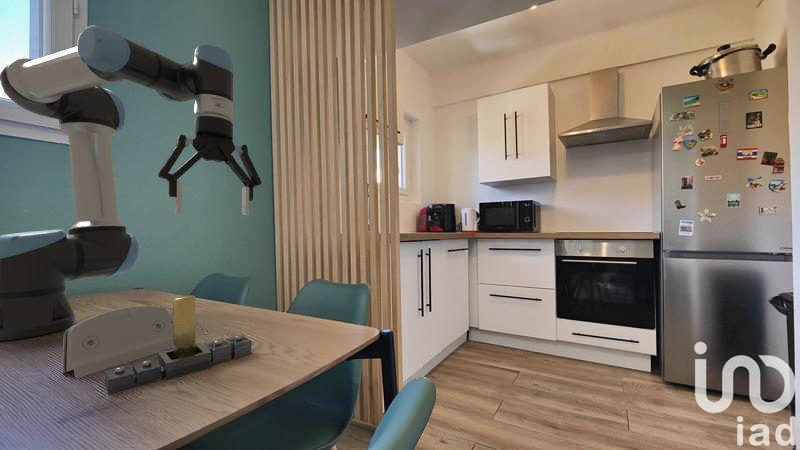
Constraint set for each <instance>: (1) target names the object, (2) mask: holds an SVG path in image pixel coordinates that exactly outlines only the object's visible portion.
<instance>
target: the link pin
mask: <svg viewBox="0 0 800 450" xmlns="http://www.w3.org/2000/svg"><path fill="white" fill-rule="evenodd" d="M172 319H173V320H172V325H173V348H172V349H173V360H174V359H178V358H182V357H186V356H190V355H195V354H196V344H197V343H196V342H197V341H196V336H197V335H196V331H197V330H196V329H197V327H196V295H181V296H175V297H173V298H172Z"/></svg>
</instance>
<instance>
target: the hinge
mask: <svg viewBox="0 0 800 450" xmlns="http://www.w3.org/2000/svg"><path fill="white" fill-rule="evenodd" d="M168 312H169V311H168V309H167V308H165V307H160V306H149V305H148V306H146V305H145V306H133V307H132V306H131V307H124V308H123V307H122V308H118V309H117V308H116V309H114V310H109V311H107V312H101V313H99V314H97V315H94V316H91V317H89V318H86V319H84V320H82V321H80V322H78V323H76V324H75V325H73V326H71V327H69V328H66V329H65V331H64V333H63V342H62V344H63V345H62V374H65V373H68V372H71V371H73V375H74V378H75V379H79V378H81V377H85V376H88V375H92V374H94V373H98V372H100V371H105V370H109V369H112V368H115V367H117V366H121V365H124V364H126V363H129V362H132V361H133V362H134V361H137V360H139V359H142V358H146V357H149V356H152V355H155V354H158V353H159V352H163V351H168V350H172V349H173V322H172V321H171V317H170V314H169V313H168ZM171 348H172V349H171Z"/></svg>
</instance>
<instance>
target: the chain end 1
mask: <svg viewBox="0 0 800 450" xmlns="http://www.w3.org/2000/svg"><path fill="white" fill-rule="evenodd" d="M196 354H197V353H196ZM171 360H173V358H172V359H171ZM210 368H212V364H211V360H208V361H205V362H201V363H197V364H193V365H190V366H186V367H182V368H178V369H175V370H171V371H167V372H166V371H165V369H164V368H163V367H162V365H161V364H160V362H159V361H158V359H156V358H152V359H147V360H143V361H139V362H135V363H132V366H131V364H127V365H122V366H121V365H120V366H118V367H117V366H116V367H113V368H108V369H105V370H104V373H105V374H104V377H105V380H104V383H105V388H106V392H107V394H108V395H110V394H113V393H116V392H119V391H123V390H127V389H131V388H134V387H136V386H137V387H138V386H142V385H145V384H146V385H147V384H148V383H153V382H156V381H159V380H162V378H164V380H166V381H167V380H172V379H174V378H175V379H176V378H178V377H182V376H185V375H188V374H193V373H196V372H199V371H203V370H207V369H210ZM135 385H136V386H135Z"/></svg>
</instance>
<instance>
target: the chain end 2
mask: <svg viewBox="0 0 800 450" xmlns="http://www.w3.org/2000/svg"><path fill="white" fill-rule="evenodd" d="M196 353H197V354H195V355H190V356H186V357H182V358H178V359H174V360H171V359H172V358H173V348H172V349H168V350H165V351H162V352H159V353H157V362H158V361H159V362H160V364H161V365H162V367H163V368H164V369H165V371H166V372H167V371H171V370H175V369H178V368H182V367H186V366H190V365H193V364H197V363H201V362H205V361H208V360H211V366H212V365H213V366H215V365H218V364H220V363H221V364H222V363H225V362H229V361H231V360H232V358H233V359H235V360H236V359H238V358H243V357H246V356H250V355H252V339H250V338H248V337H247V336H245V335H243V334H239V335H235V336H231V337H227V338H225V339H223V338H221V339H217V340H213V341H209V342H206V343H204V344H202V343H201V342H198V343H196Z"/></svg>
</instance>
